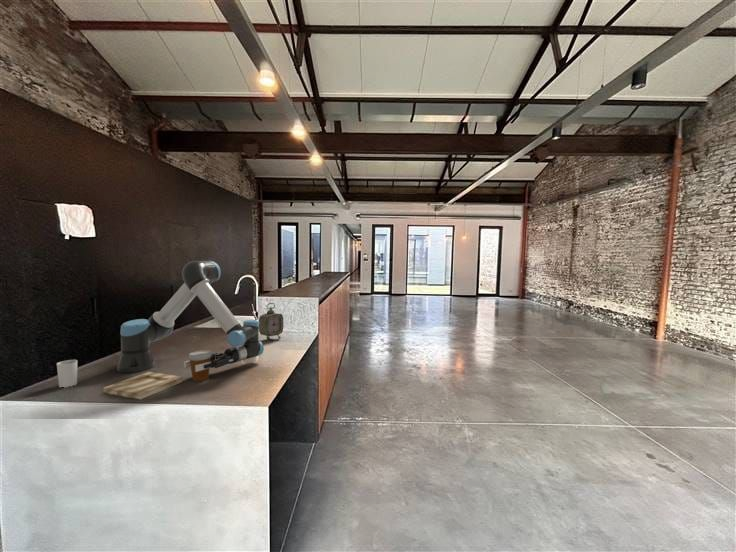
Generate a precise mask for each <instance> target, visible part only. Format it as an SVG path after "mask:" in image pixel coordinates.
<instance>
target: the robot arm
mask: <svg viewBox="0 0 736 552" xmlns="http://www.w3.org/2000/svg"><path fill="white" fill-rule="evenodd" d="M221 275H222V272H221V267H220V266H219V264H218V263H217V262H215V261H213V260H192V261H189V262H187V263H186V264H185V265H184V267H183V269H182V271H181V276H182V280H183V282H184V283H183V284H182V285H181V286H180V287H179V288H178V290H177V291H176V292H175V293H174V294H173V295H172V297H171V298H170V299H169V300H168V301H167V302H166V303H165V305H164V306H162V308H161V309H160V310H159V311H154V312H153V314H151V316H150V317H149V318H148V319H145V318H140V319H139V318H138V319H137V318H136V319H132V320H128V321H125V322H123V323H122V324H121V325H120V332H119V334H120V351H121V353H120V358H119V361H118V364H117V366H116V368H117V369H116V370H117V372H118V373H124V374H127V373H138V372H142V371H146V370H149V369H152V368H154V366H155V360H154V358H153V355H152V353H151V350H150V349H151V347H150V346H151V345H150V344H151V343H153V342H156V341H161V340H163V339H165V338H167V337H169V336H170V335H171V333H172V332H173V330H174V326H175V320H176V319H177V318H178V317H179V316H180V315H181V314H182V313H183V312H184V310H185V309H186V308H187V307H188V306H189V305H190V303H191V302H192V301H193V300H194V299H195V298H196V297H198V299H199V300H200V302H202V304H203V305H204V306H205V308H206V309H207V310H208V312H209V313H210V314H211V316H212V317H213V319H214V320H216V321H215V322H216V323H217V324H219V326H220V327H221V328H222V330H223V331H224V332H225V334H226V335H227V336H226V337H227V338H226V340H227V343H228V344H229V346H231V347H230V348H226V349H225V350H224V352H220V353H218V352H213V353H211V354H212V356H211V359H210V362H206V363H202V364H198V365H195V372H197V371H201V370H204V369H208V368H209V369H211V368H215V369H218V368H221V367H223V366H225V365H230V364H236V363H237V362H239V363H241V362H242V361H245V360H249V359H252V358H257V357H258V356H261V355H262V354H263V353H264V350H265V347H264V344H263V342H262V341H260V340H259V339H260V337H259V336H260V335H259V334H260V332H259V320H257V319H247V320H244V321H243V323H242V324H243V325H242V324H241V323H240V321H238V320H237V317H235V315H234V314H233V312H232V311H231V310H230V309H229V307H228V306H227V305H226V303H224V302H223V300H222V299H221V297H220V296H219V295H218V293H217V292H216V291H215V289H214V288H213V287H212V285H211V284H212V283H215V282H217V281H218V280H220V278H221ZM183 365H184V366H183V367H184V369H187V368H191V365H190V360H189V359H188V360H186V361H184V362H183Z"/></svg>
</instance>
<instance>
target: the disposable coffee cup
mask: <svg viewBox="0 0 736 552" xmlns="http://www.w3.org/2000/svg"><path fill="white" fill-rule="evenodd" d="M212 354H213V353H212V352H211V351H210V350H197V351H193V352H190V353H189V355H188V361H189V360H190V365H191V367H190V370H191V377H192V381H193V382H203V381H207V380H208V379H209V376H210V368H208V369H204V370H201V371H197V372H195V365H198V364H202V363H206V362H210V359H211V356H212ZM210 363H211V362H210Z"/></svg>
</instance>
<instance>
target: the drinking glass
mask: <svg viewBox="0 0 736 552" xmlns="http://www.w3.org/2000/svg"><path fill="white" fill-rule="evenodd" d="M56 369H57V370H56V371H57V381H58V387H59V388H61V387H64V388H69V386H70V387H74V386H76V385H78V360H77V359H68V360H67V359H66V360H62V361H59V362H56ZM73 385H74V386H73Z"/></svg>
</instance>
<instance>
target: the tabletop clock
mask: <svg viewBox="0 0 736 552" xmlns="http://www.w3.org/2000/svg"><path fill="white" fill-rule="evenodd" d="M269 305H273V307H272V306H270V308H269V307H268V306H269ZM275 307H276V305H275V303H274V302H269V303H267V305H266V309H267V312H266V313H263V314H261V315H260V316H259V317H258V325H259V334H260V335H261V336H266V340H265V342H266V343H269V340H271V339H270V338H271V337H275V336H277V337H278V339H279V340H280V339H282V338H281V336H280V335H281V334H283V332H284V316H283V313H278V312H276V311H275V310H274V308H275Z"/></svg>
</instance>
